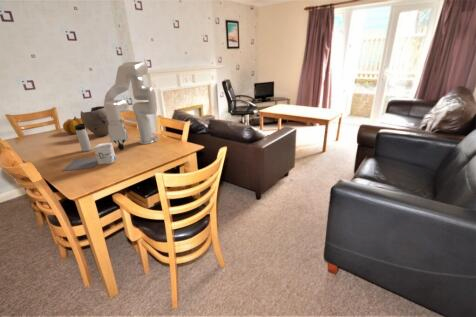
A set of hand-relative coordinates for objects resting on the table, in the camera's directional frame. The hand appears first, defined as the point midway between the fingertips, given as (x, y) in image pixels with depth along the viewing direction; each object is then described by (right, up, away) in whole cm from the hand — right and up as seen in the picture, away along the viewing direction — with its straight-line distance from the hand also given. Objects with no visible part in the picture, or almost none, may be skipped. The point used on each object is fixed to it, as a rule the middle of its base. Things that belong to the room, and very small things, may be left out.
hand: (121, 149), depth 157 cm
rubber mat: (-24, -9, -1) cm, 26 cm away
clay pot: (-46, +15, +58) cm, 76 cm away
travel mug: (-37, 0, +22) cm, 43 cm away
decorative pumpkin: (-76, +19, +71) cm, 106 cm away
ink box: (-10, -8, +1) cm, 13 cm away
